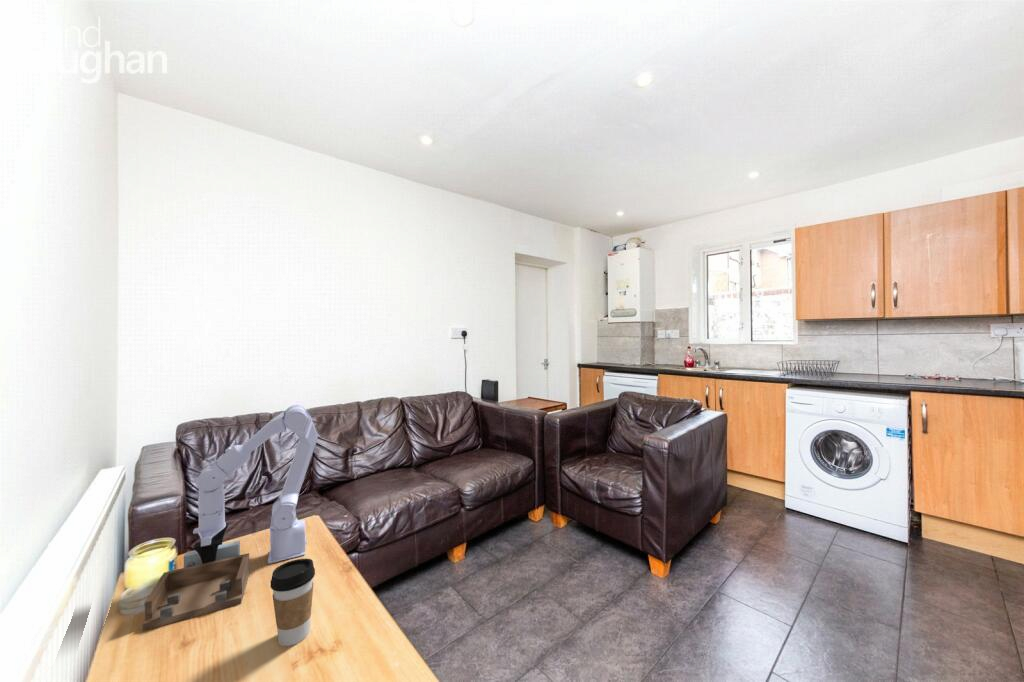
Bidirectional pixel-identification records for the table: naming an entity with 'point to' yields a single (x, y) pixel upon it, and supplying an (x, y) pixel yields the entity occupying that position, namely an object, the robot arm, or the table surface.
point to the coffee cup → (293, 600)
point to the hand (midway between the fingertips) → (212, 559)
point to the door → (222, 553)
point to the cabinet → (197, 591)
